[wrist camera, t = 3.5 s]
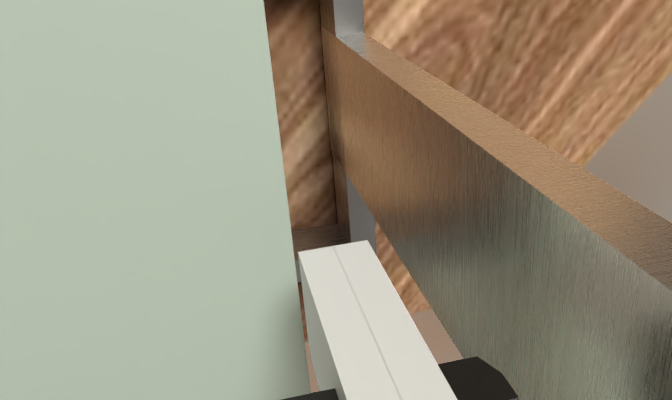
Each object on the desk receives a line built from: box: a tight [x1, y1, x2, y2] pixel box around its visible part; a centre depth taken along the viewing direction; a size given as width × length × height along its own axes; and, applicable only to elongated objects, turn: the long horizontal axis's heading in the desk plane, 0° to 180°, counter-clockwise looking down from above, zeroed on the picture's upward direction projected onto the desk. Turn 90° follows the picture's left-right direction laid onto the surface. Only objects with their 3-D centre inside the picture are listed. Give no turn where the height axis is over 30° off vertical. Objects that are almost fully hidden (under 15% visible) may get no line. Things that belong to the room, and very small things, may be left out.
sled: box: [291, 0, 672, 400], centre depth 17 cm, size 24×16×24 cm
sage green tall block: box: [0, 0, 311, 400], centre depth 21 cm, size 10×20×15 cm, turn 4°
